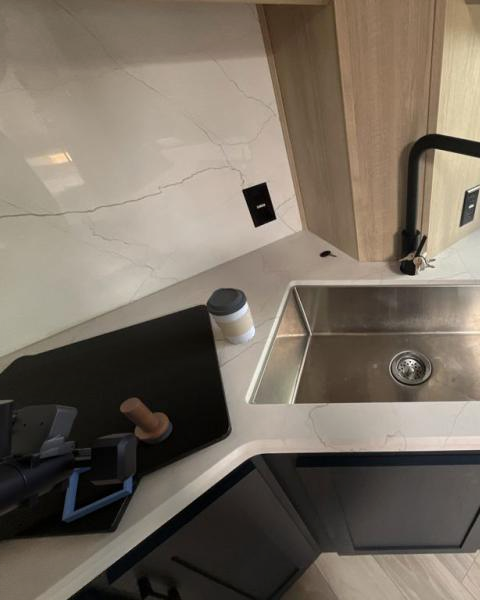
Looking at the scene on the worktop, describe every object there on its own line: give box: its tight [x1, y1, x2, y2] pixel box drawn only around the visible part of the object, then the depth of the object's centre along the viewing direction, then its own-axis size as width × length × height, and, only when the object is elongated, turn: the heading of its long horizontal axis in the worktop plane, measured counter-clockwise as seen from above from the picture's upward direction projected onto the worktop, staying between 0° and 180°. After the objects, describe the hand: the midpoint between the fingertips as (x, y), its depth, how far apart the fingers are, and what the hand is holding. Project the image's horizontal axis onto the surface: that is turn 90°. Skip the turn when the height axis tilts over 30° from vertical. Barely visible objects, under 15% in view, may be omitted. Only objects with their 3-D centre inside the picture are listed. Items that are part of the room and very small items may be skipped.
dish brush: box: [119, 397, 173, 446], centre depth 63 cm, size 6×6×12 cm
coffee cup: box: [205, 287, 256, 345], centre depth 83 cm, size 9×9×15 cm
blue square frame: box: [61, 467, 133, 524], centre depth 59 cm, size 9×9×2 cm
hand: (107, 442), depth 53 cm, fingers open, 9 cm apart
